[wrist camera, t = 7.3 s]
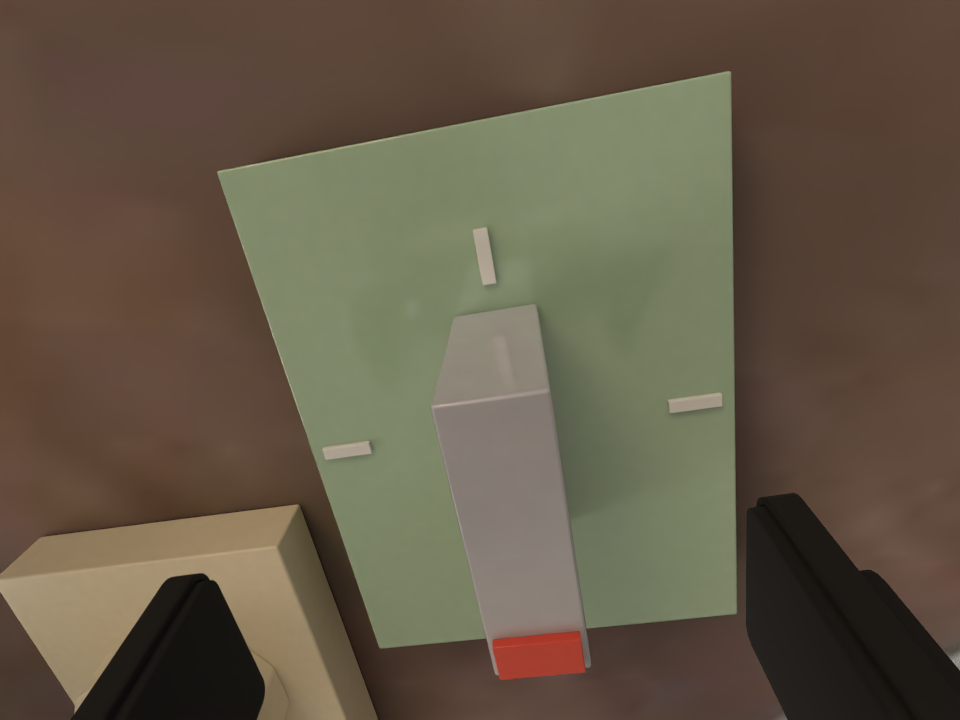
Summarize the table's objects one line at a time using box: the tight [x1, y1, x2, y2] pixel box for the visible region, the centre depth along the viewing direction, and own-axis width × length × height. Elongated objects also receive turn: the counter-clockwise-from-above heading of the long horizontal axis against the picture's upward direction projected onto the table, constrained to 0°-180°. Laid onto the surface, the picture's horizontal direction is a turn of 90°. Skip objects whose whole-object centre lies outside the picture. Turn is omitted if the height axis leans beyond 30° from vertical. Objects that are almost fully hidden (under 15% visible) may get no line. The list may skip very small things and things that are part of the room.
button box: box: [0, 504, 378, 720], centre depth 21 cm, size 12×10×4 cm
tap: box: [431, 304, 592, 680], centre depth 14 cm, size 7×2×5 cm, turn 10°
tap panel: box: [217, 71, 737, 649], centre depth 17 cm, size 16×12×2 cm
